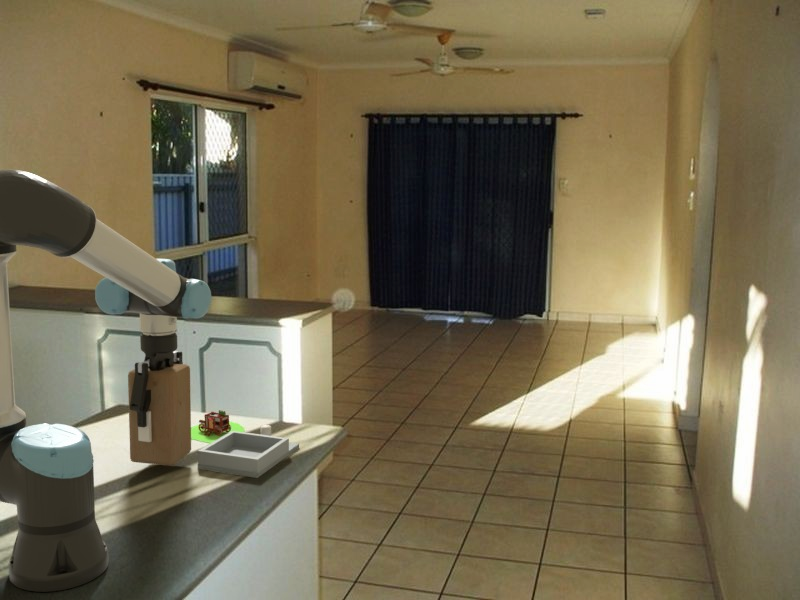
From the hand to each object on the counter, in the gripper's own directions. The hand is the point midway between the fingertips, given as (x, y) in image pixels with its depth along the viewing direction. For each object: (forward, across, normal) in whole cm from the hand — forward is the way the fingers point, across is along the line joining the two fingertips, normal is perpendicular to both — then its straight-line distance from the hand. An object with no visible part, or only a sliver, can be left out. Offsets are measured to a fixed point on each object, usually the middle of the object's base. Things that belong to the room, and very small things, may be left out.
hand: (160, 433), depth 185 cm
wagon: (+8, +26, +2) cm, 27 cm away
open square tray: (+8, +13, -14) cm, 21 cm away
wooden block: (+6, 0, 0) cm, 6 cm away
